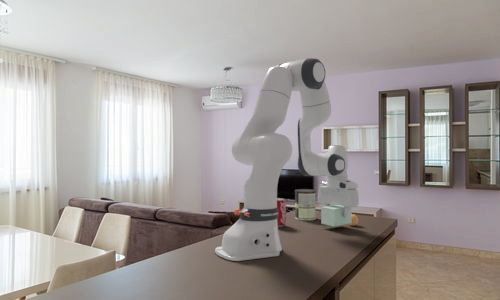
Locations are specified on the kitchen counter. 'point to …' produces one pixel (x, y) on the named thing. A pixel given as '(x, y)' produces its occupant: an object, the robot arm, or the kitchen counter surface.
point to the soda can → (281, 212)
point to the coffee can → (305, 204)
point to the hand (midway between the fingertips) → (336, 215)
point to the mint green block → (335, 215)
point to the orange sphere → (354, 220)
